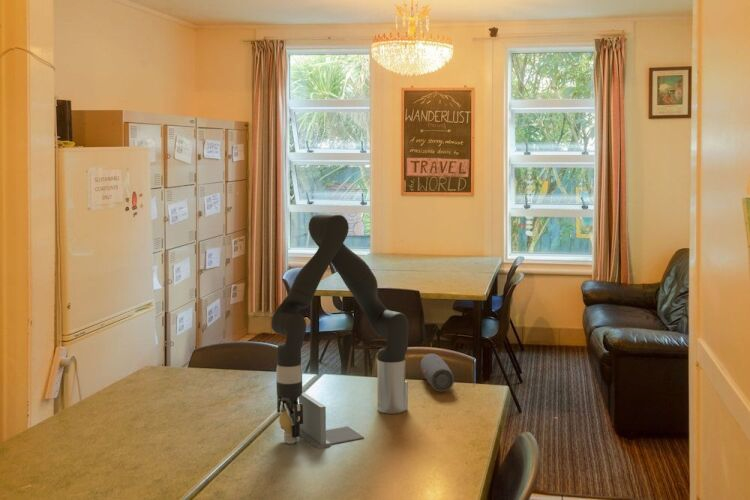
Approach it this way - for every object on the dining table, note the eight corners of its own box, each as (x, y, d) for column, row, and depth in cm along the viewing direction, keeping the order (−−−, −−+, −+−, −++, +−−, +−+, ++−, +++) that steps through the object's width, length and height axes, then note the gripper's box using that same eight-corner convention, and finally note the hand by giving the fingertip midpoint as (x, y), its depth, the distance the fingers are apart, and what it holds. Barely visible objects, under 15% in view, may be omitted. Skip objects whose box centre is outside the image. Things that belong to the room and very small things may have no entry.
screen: (307, 428, 246) (306, 391, 244) (330, 446, 231) (330, 406, 229) (295, 431, 244) (294, 393, 242) (318, 448, 229) (317, 408, 228)
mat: (347, 427, 247) (347, 426, 247) (363, 438, 237) (363, 437, 237) (315, 433, 242) (315, 432, 242) (330, 444, 232) (330, 443, 232)
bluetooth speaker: (418, 378, 302) (418, 352, 301) (442, 377, 303) (443, 351, 302) (429, 395, 279) (429, 368, 278) (455, 394, 280) (455, 367, 279)
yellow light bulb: (297, 447, 230) (297, 413, 229) (276, 445, 232) (276, 412, 230) (304, 439, 237) (303, 406, 235) (283, 438, 238) (283, 405, 237)
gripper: (310, 383, 227) (311, 438, 229) (291, 371, 240) (292, 423, 242) (286, 387, 224) (287, 442, 226) (268, 375, 236) (269, 427, 238)
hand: (290, 432), depth 234 cm, fingers open, 8 cm apart
